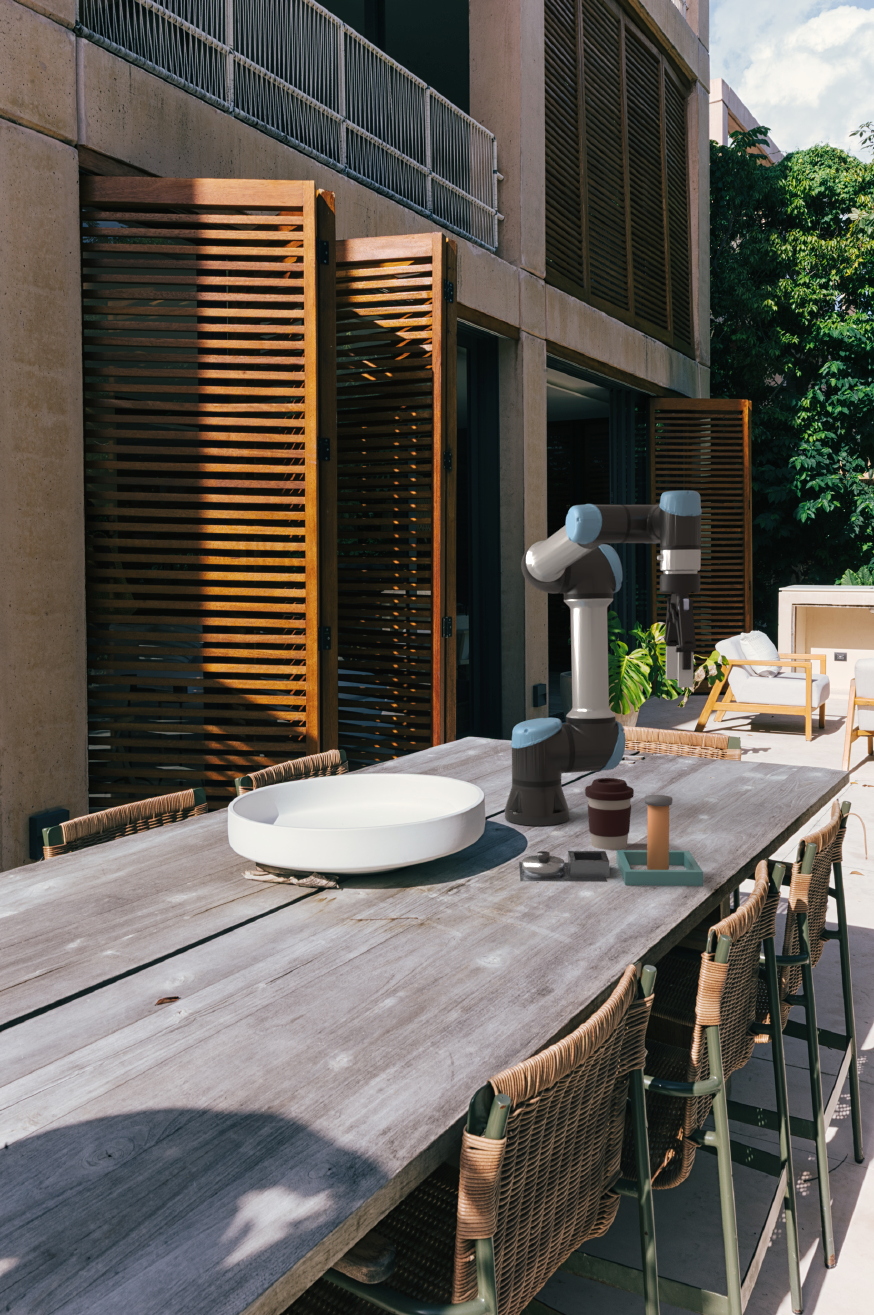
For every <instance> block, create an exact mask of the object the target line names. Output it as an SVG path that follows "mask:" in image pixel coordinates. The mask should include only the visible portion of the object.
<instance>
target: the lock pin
mask: <svg viewBox="0 0 874 1315" xmlns="http://www.w3.org/2000/svg"><path fill="white" fill-rule="evenodd" d="M644 804H645V805H647V829H646V830H647V831H646V832H647V833H646V834H647V836H646V837H647V838H646V839H647V840H646V842H647V843H646V847H647V848H646V849H647V865H646V870H670V865H669V850H670V806H671V805H673V797H671V796H669V795H664V794H650V795H646V796H644Z"/></svg>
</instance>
